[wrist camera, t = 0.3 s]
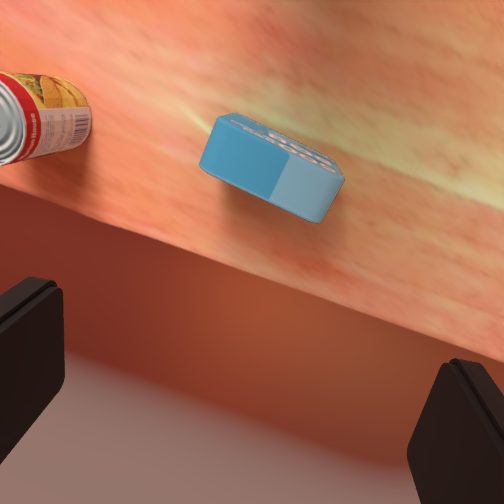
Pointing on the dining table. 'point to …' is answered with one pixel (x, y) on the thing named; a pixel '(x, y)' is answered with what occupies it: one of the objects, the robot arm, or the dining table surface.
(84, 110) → the canned food
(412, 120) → the dining table surface
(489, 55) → the dining table surface
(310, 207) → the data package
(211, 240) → the dining table surface
